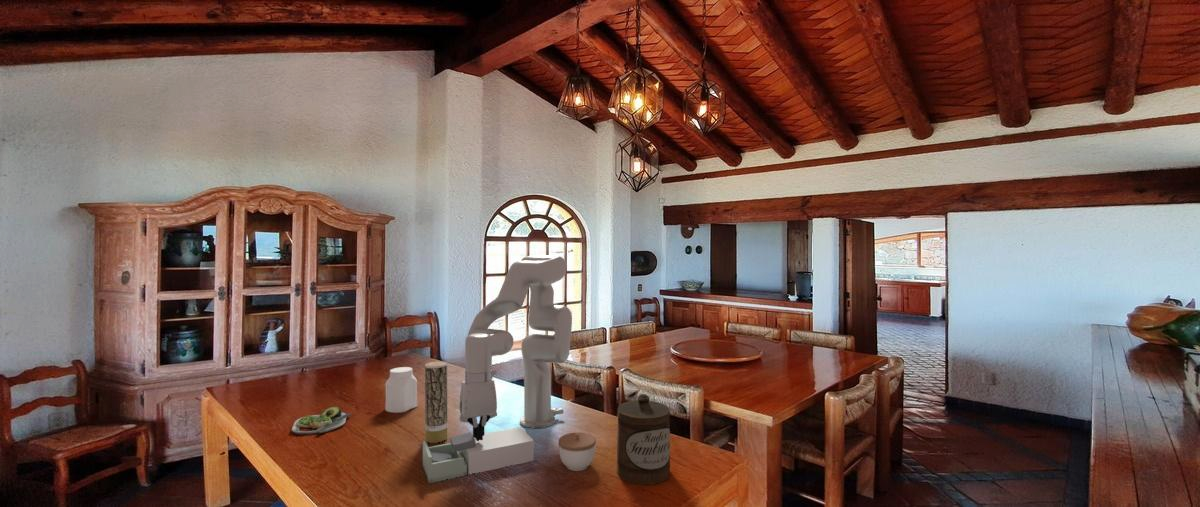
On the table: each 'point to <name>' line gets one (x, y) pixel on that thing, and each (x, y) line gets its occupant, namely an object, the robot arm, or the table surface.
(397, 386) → the jar
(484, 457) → the white rectangular block
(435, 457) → the slate tile front
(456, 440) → the slate tile back
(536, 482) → the table surface
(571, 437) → the lidded jar
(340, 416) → the avocado toast plate
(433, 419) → the bark-textured canister
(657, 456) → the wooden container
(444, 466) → the box
